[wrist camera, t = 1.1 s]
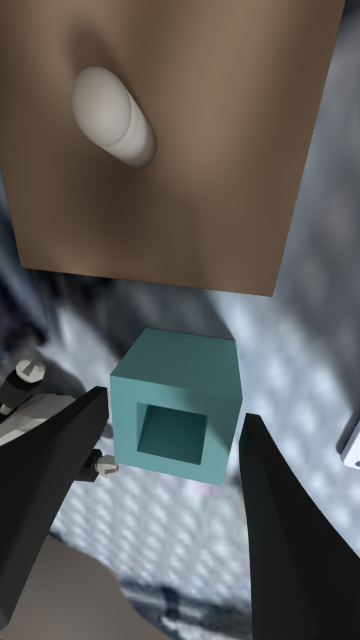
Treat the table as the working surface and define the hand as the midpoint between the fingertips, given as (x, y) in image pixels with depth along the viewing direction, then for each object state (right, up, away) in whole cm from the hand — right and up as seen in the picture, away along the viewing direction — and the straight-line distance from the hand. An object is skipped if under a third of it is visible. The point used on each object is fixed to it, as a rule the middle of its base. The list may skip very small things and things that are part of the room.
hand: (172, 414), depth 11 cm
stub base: (-1, +13, -1) cm, 13 cm away
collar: (+1, +1, +3) cm, 4 cm away
